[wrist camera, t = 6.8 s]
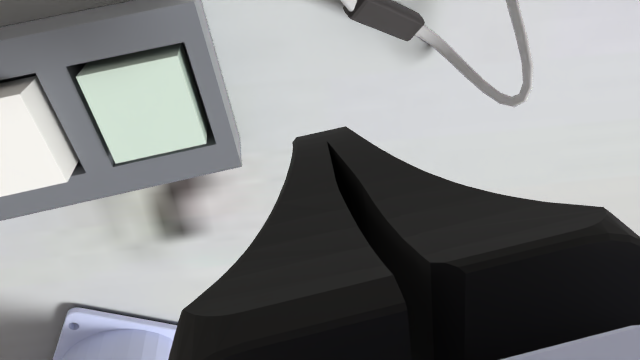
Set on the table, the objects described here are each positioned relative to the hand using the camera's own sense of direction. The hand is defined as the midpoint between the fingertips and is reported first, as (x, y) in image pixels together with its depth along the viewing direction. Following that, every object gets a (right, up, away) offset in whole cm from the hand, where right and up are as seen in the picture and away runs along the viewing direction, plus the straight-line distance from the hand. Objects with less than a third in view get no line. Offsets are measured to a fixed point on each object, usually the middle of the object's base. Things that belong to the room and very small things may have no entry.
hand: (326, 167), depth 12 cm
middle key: (-11, +2, +6) cm, 13 cm away
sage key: (-7, +3, +7) cm, 10 cm away
